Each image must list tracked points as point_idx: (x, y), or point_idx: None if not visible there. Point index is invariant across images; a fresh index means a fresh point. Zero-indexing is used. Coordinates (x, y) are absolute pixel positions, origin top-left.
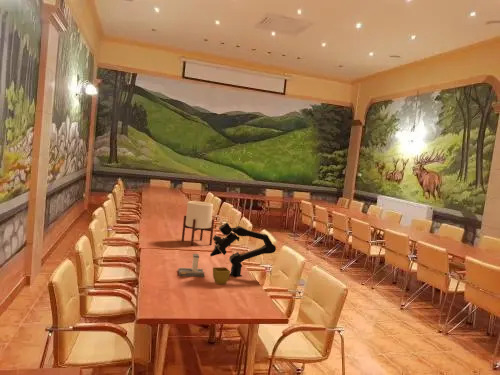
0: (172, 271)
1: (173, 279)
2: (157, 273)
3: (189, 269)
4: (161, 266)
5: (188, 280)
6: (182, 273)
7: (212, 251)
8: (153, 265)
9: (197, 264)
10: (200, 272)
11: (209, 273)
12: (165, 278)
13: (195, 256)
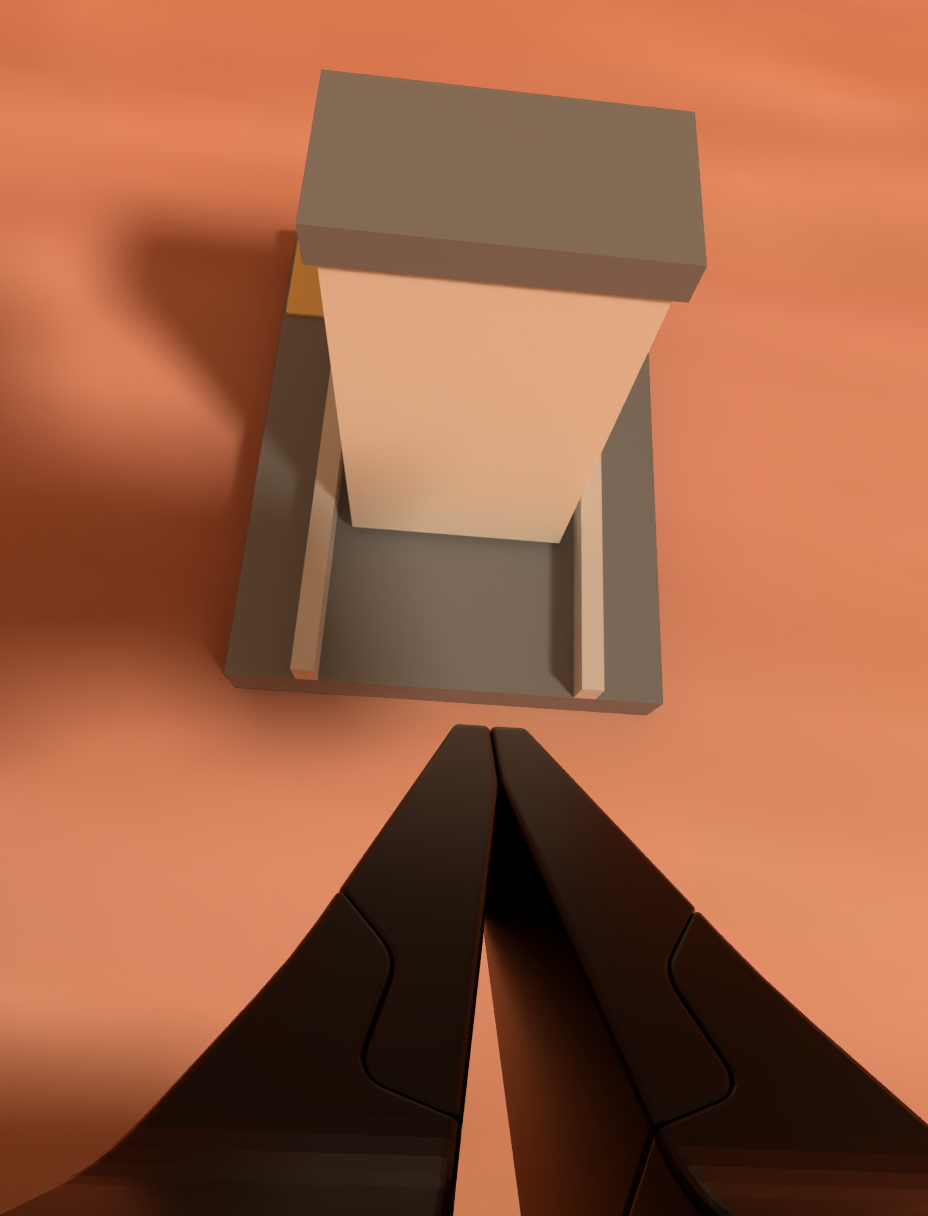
0: None
1: (102, 145)
2: (428, 13)
3: None
4: (823, 108)
5: (13, 344)
6: (294, 258)
7: (633, 870)
8: (845, 28)
9: (340, 408)
10: (302, 583)
11: None
12: (166, 61)
13: (315, 123)
